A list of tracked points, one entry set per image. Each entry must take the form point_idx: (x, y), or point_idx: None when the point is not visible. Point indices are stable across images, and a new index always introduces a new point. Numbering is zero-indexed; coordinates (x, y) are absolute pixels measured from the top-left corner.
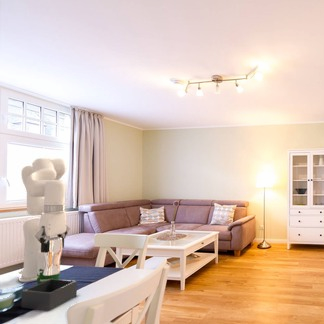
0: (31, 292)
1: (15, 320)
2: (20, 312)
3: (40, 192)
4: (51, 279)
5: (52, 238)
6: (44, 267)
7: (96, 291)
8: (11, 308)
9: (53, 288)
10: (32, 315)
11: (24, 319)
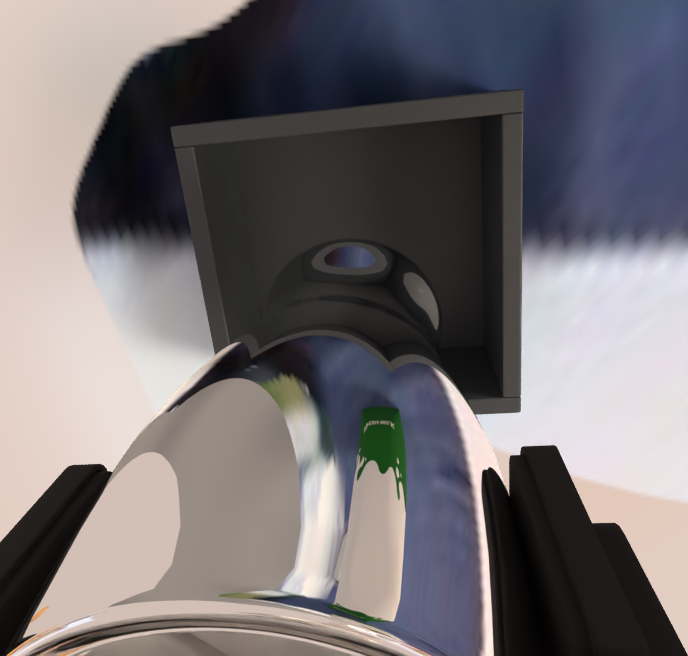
0: (194, 241)
1: (95, 281)
2: (170, 198)
3: None
4: (504, 112)
5: (425, 636)
6: (271, 309)
7: (607, 424)
8: (181, 50)
9: (487, 141)
10: (177, 321)
11: (126, 322)
